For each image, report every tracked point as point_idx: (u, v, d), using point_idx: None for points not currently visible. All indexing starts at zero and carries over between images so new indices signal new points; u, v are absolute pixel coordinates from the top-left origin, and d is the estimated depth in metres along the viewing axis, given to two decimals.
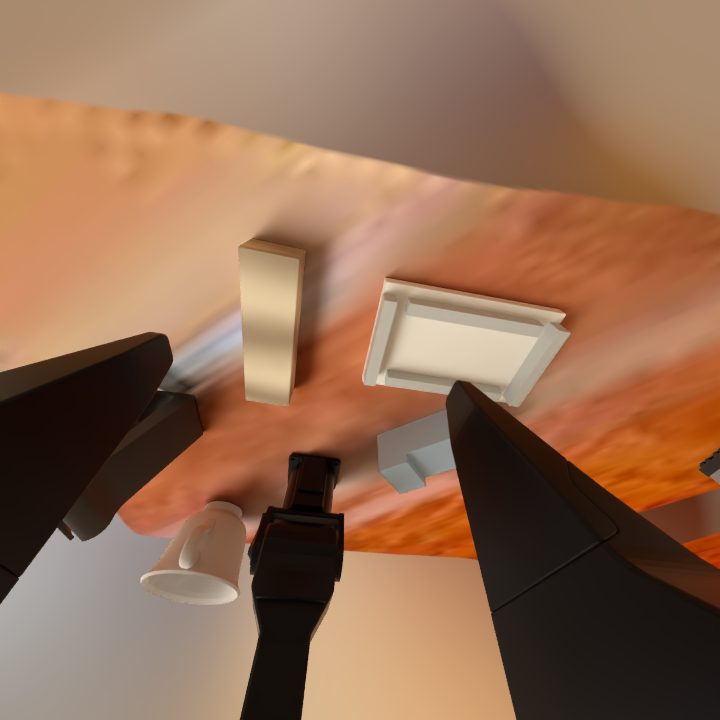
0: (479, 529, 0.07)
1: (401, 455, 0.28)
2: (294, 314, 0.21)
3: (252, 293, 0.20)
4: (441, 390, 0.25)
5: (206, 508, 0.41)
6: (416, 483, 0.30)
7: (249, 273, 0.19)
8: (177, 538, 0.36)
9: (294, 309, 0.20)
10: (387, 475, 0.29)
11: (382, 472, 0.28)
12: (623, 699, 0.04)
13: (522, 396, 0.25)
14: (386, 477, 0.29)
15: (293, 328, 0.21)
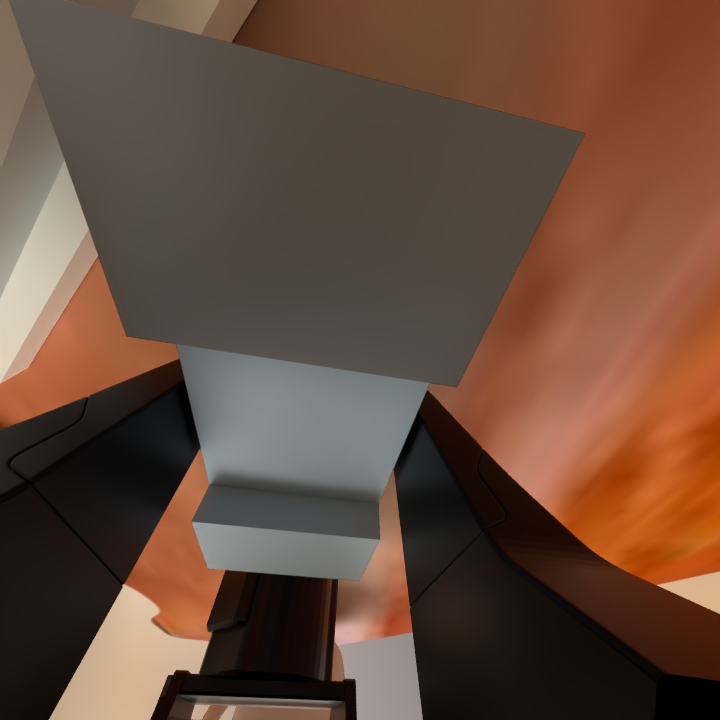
0: (405, 521, 0.07)
1: None
2: None
3: None
4: None
5: None
6: (340, 547, 0.08)
7: None
8: None
9: None
10: (241, 566, 0.09)
11: (217, 567, 0.09)
12: (491, 693, 0.04)
13: None
14: (250, 570, 0.09)
15: None
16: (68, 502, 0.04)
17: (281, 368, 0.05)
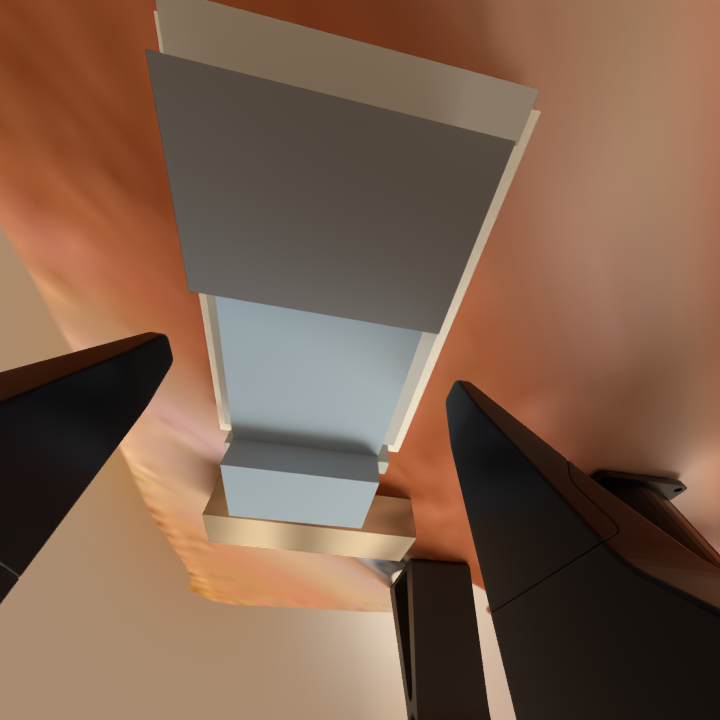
0: (479, 529, 0.07)
1: None
2: (270, 521, 0.18)
3: (253, 541, 0.19)
4: (417, 359, 0.11)
5: None
6: (345, 491, 0.09)
7: (232, 540, 0.19)
8: None
9: (263, 521, 0.17)
10: (258, 513, 0.10)
11: (238, 513, 0.10)
12: (623, 699, 0.04)
13: (475, 94, 0.06)
14: (266, 517, 0.10)
15: (289, 523, 0.18)
16: None
17: (300, 327, 0.07)
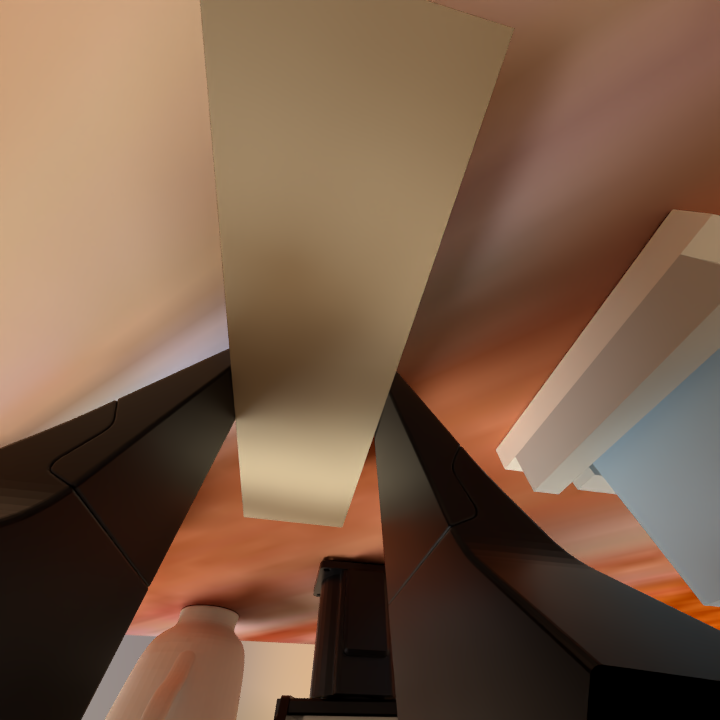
0: (385, 519, 0.07)
1: None
2: (412, 314, 0.06)
3: (267, 229, 0.05)
4: None
5: (182, 618, 0.26)
6: None
7: (256, 125, 0.04)
8: (128, 696, 0.21)
9: (418, 296, 0.06)
10: None
11: None
12: (455, 691, 0.03)
13: None
14: None
15: (396, 360, 0.07)
16: (105, 505, 0.04)
17: None
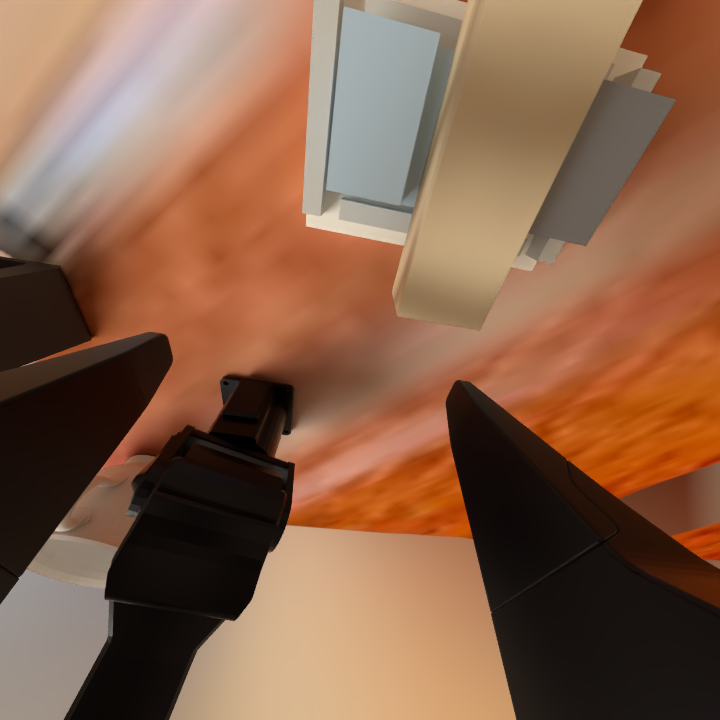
0: (479, 529, 0.07)
1: None
2: (634, 12, 0.07)
3: None
4: None
5: (125, 464, 0.31)
6: (389, 174, 0.11)
7: None
8: None
9: None
10: (352, 58, 0.09)
11: (349, 24, 0.09)
12: (623, 699, 0.04)
13: None
14: (343, 68, 0.09)
15: (601, 76, 0.08)
16: None
17: None
